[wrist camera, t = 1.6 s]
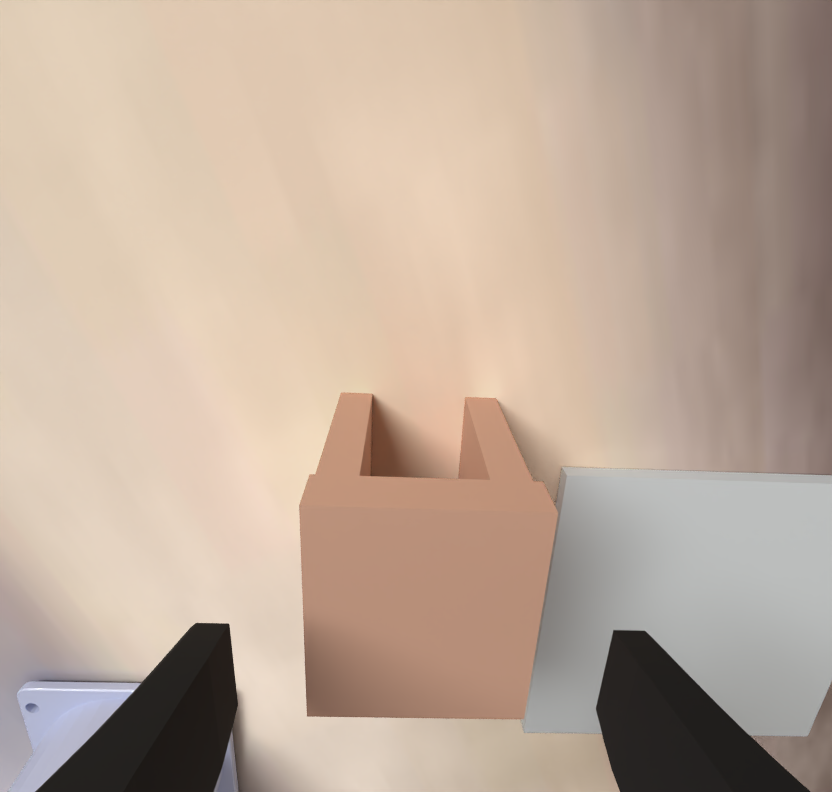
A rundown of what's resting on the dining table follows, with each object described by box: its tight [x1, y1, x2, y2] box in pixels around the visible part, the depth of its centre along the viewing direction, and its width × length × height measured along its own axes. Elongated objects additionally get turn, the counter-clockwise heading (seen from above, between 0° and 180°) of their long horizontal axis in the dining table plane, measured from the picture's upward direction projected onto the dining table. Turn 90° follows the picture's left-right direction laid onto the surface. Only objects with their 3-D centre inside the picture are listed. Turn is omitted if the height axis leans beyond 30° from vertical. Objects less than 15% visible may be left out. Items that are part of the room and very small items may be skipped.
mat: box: [521, 467, 832, 736], centre depth 20 cm, size 12×12×1 cm
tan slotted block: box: [299, 393, 558, 719], centre depth 15 cm, size 6×5×7 cm
